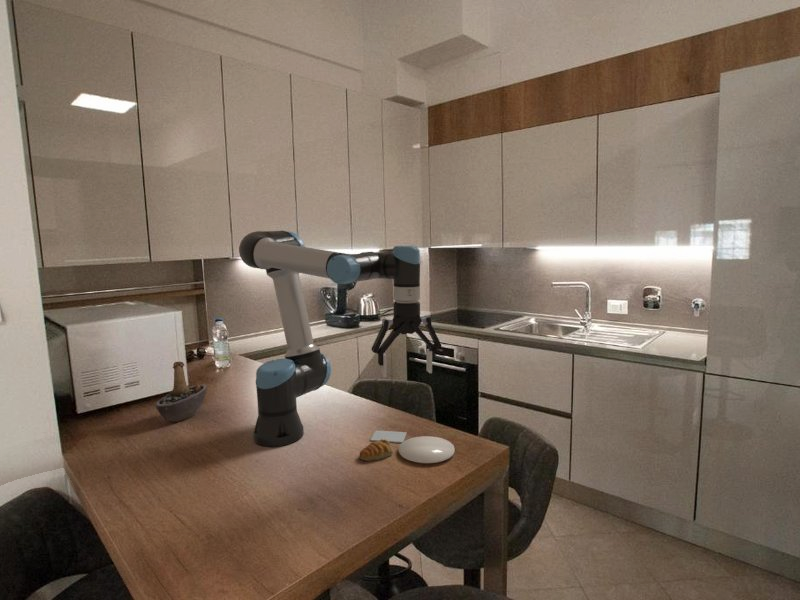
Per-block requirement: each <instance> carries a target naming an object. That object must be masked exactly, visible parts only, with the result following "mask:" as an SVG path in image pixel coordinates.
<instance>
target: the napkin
mask: <svg viewBox="0 0 800 600" xmlns="http://www.w3.org/2000/svg"><path fill="white" fill-rule="evenodd" d="M407 433H408V432H407V431H394V430H393V431H391V430H375V431H374V433H373V434H372V435H371V438H370V442H376V441H380V440H381V439H383V440H387V441H388V442H389V443H395V444H396V443H397V444H401V443H402V442H404V441H405V439H406V436H407Z"/></svg>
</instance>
